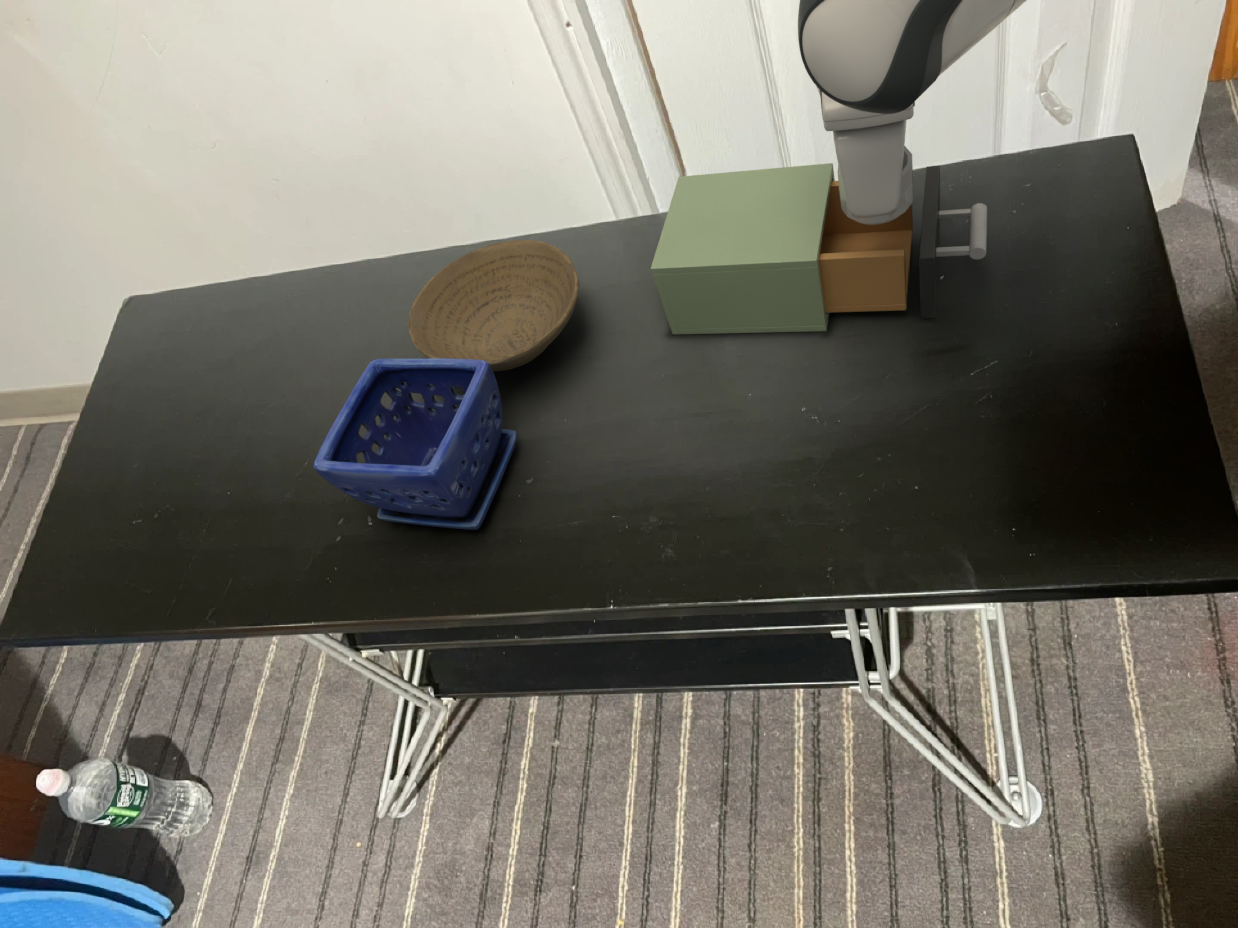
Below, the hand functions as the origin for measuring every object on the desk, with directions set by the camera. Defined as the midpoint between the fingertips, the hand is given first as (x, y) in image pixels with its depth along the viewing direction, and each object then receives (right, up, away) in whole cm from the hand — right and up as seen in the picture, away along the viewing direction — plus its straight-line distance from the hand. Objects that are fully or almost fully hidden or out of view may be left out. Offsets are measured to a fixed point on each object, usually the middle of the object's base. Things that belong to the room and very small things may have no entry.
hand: (876, 189), depth 79 cm
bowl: (-34, -12, +18) cm, 40 cm away
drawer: (+3, -6, +8) cm, 10 cm away
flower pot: (-39, -27, +8) cm, 48 cm away
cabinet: (-9, -6, +13) cm, 17 cm away
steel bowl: (0, -1, +1) cm, 2 cm away
